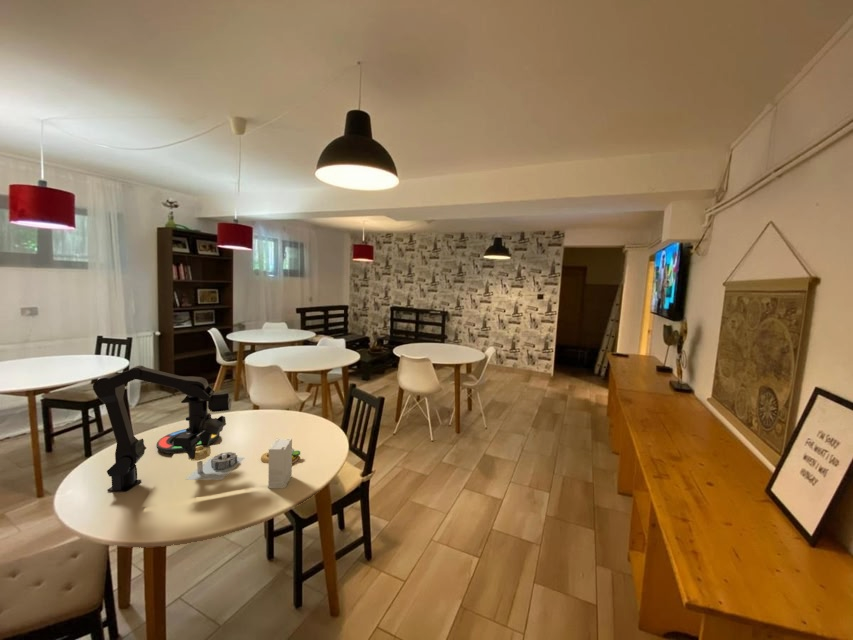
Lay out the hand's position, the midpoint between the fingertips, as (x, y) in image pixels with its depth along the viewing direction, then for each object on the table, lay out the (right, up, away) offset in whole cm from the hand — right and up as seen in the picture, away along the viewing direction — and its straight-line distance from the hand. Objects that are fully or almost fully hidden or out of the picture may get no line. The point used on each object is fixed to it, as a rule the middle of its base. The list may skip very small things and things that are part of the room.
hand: (199, 454), depth 124 cm
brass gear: (0, -1, 0) cm, 1 cm away
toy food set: (+25, -8, +14) cm, 29 cm away
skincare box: (+31, -10, -2) cm, 32 cm away
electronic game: (-22, -6, +26) cm, 34 cm away
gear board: (+4, -8, +4) cm, 10 cm away
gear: (+5, -7, +7) cm, 11 cm away
